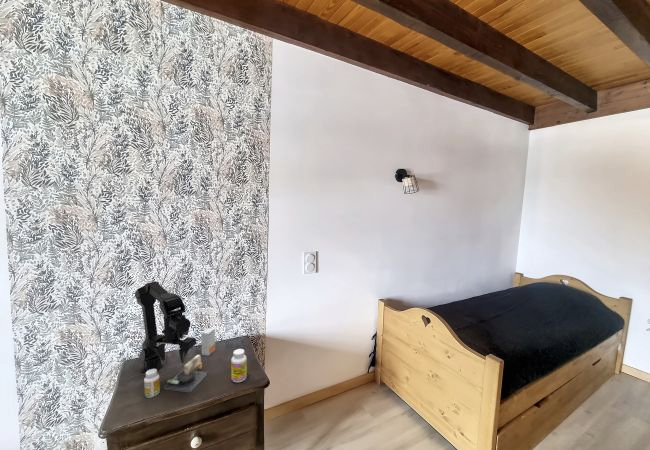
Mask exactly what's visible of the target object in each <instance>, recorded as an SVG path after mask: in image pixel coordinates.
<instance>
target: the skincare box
mask: <svg viewBox="0 0 650 450" xmlns="http://www.w3.org/2000/svg"><path fill="white" fill-rule="evenodd" d="M215 331H216V329H215V328H212V327H211V328H210V327H208V328H206V329H205V330H203V331H202V332H201V337H200V338H201V339H200V341H201V342H200V343H201V355H202V356H210V355H211V354H212V353H213V352H215V351H216V334H215V333H216V332H215Z"/></svg>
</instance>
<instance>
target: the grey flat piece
mask: <svg viewBox="0 0 650 450" xmlns="http://www.w3.org/2000/svg"><path fill="white" fill-rule="evenodd" d="M197 368H198V370H194V371H195V378H194V379H193V380H192V381H191V382H188V383H185V384H181V383H180V381H177V375H178V374H179V373H180V372H182V371H184V368H183V369H182V370H181V371H180V372H178V373H177V374H176V375H175V376H174V377H173V378H171V379H168V380H167V382H166V384H165V385H164V388H163V389H164V390H166V391H174V392H182V393H191V392H193V390H194V389H196V387H197V386H198V385H199V384H200V383H201V382H202V381H203V380H204V379H205V378H206V376H207V373H208V371H201V370H202V369H203V361H202V360H201V363H200V364H199V365H198V366H197Z"/></svg>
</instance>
